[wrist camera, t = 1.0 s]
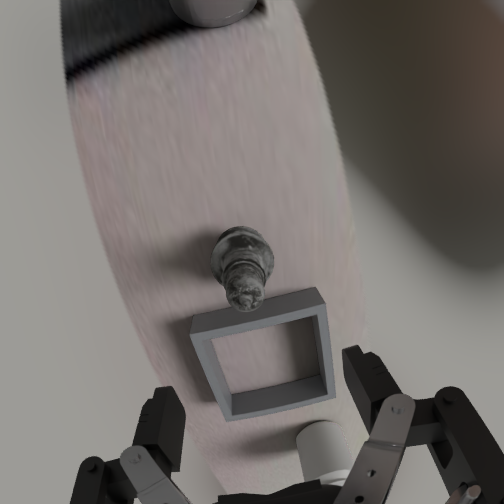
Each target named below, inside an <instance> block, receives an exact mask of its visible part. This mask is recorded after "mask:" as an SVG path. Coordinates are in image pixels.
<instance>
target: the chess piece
mask: <svg viewBox="0 0 504 504" xmlns="http://www.w3.org/2000/svg"><path fill="white" fill-rule="evenodd" d="M273 267H274V256H273V253H272V250H271V248H270V246H269V245H268V243H267V242H266V241H265V240H264V239H263V237H262V236H261V235H260V234H259V233H258V232H257V231H256V230H254V229H252V228H249V227H244V226H240V227H234V228H231V229H229V230H227V231H226V232H224V233H223V234H222V236H221V237H220V238H219V240H218V242H217V245H216V246H215V248H214V250H213V252H212V256H211V270H212V272H213V275H214V277H215V278H216V279H217V281H218V282H219V283H220V284H221V285H223V286H224V288H225V290H226V297H227V300H228V302H229V304H230V305H231V306H232V307H233V308H234V309H236V310H238V311H241V312H251V311H254V310H256V309H257V308H259V307H260V306H261V304H262V303H263V301H264V297H265V290H264V287H265V283H266V281H267V280H268V279H269V277H270V275H271V273H272V271H273Z"/></svg>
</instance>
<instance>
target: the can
mask: <svg viewBox="0 0 504 504" xmlns="http://www.w3.org/2000/svg"><path fill="white" fill-rule="evenodd" d="M296 444H297V449H298V453H299V458H300V462H301V467H302V471H303V476H304V480H305V482H308V481H312V480H316V479H320V482H321V484H333V485H339V486H343V485H344V483H345V481H346V479H347V477H348V475H349V473H350V471H351V469H352V467H353V465H354V463H355V462H354V460H353V457H352V454H351V451H350V449H349V446H348V443H347V441H346V438H345V435H344V433H343V430H342V428H341V426H340V425H339V424H337V423H334V422H328V421H320V422H316V423H313V424H310V425H308V426H307V427H305V428H304V429H303V430H302V431H301V432H300V433H299V434H298V435H297V438H296Z"/></svg>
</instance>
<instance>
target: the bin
mask: <svg viewBox="0 0 504 504" xmlns="http://www.w3.org/2000/svg"><path fill="white" fill-rule="evenodd" d="M309 316H312V322H313V328H314V335H315V341H316V348H317V355H318V362H319V369H320V375H317V376H313V377H310V378H306V379H302V380H298V381H294V382H290V383H286V384H281V385H277V386H272V387H268V388H263V389H258V390H253V391H248V392H243V393H238V394H231V392H230V389H229V387H228V384H227V382H226V379H225V376H224V374H223V371H222V369H221V366H220V363H219V361H218V358H217V355H216V352H215V350H214V347H213V344H212V342H211V339H213V338H218V337H223V336H228V335H232V334H237V333H242V332H246V331H251V330H255V329H260V328H264V327H268V326H273V325H277V324H281V323H285V322H289V321H293V320H297V319H301V318H305V317H309ZM189 335H190V338H191V340H192V343H193V345H194V348H195V351H196V353H197V355H198V358H199V360H200V363H201V365H202V368H203V370H204V372H205V375H206V377H207V380H208V382H209V384H210V387H211V389H212V391H213V393H214V396H215V398H216V400H217V402H218V405H219V407H220V409H221V411H222V413H223V416H224V418H225V420H226V422H229V421H235V420H241V419H247V418H253V417H258V416H263V415H268V414H273V413H277V412H282V411H286V410H291V409H295V408H299V407H303V406H307V405H311V404H315V403H318V402H322V401H326V400H329V399H333V398H336V390H335V380H334V369H333V360H332V351H331V342H330V334H329V326H328V318H327V310H326V303H325V302H324V300H323V298H322V296H321V295H320V293H319V291H318V290H317V288H316V287H314V288H310V289H306V290H302V291H298V292H294V293H290V294H286V295H282V296H278V297H274V298H269V299H265V300H264V301H263V303H262V304H261V306H260V307H259V308H257V309H256V310H254V311H251V312H241V311H238V310H236V309H234V308H233V307H230V308H226V309H221V310H217V311H212V312H207V313H203V314H198V315H193V319H192V324H191V329H190V333H189Z"/></svg>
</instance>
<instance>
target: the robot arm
mask: <svg viewBox="0 0 504 504" xmlns="http://www.w3.org/2000/svg"><path fill="white" fill-rule="evenodd" d="M169 2H170V5H171V7H172V9H173V11H174V13H175V14H176V15H177V16H178V17H179V18H180V19H182V20H183V21H185V22H187V23H189V24H192V25H194V26H200V27H221V26H225V25H229V24H232V23H234V22H237V21H239V20H241V19H242V18H243V17H245V16H246V15H248V14H249V13H250V11H251V10H252V9H253V8H254V6H255V4H256V3H257V0H169ZM342 359H343V371H344V378H345V381H346V384H347V387H348V389H349V391H350V393H351V395H352V398H353V400H354V402H355V404H356V407H357V409H358V411H359V413H360V416H361V418H362V420H363V422H364V425H365V427H366V429H367V431H368V434H369V435H370V437H369V439H368V441H365V442H364V444H363V446H362V448H361V450H360V452H359V454H358V456H357V458H356V461H355V463H354V465H353V467H352V469H351V471H350V473H349V475H348V477H347V479H346V481H345V483H344V485H343V486H339V485H333V484H321V482H320V479H316V480H312V481H308V482H303V483H299V484H294V485H292V486H290V487H287V488H285V489H282V490H280V491H277V492H275V493H272V494H269V495H261V494H247V493H239V494H230V495H220V496H218V502H216V503H213V504H385V503H386V500H387V498H388V496H389V493H390V490H391V488H392V486H393V482H394V480H395V477H396V475H397V472H398V469H399V466H400V464H401V461H402V458H403V455H404V452H405V449H406V447H409V446H416V445H423V444H427V447H428V449H429V451H430V453H431V455H432V457H433V459H434V462H435V464H436V466H437V468H438V470H439V472H440V475H441V477H442V479H443V482H444V484H445V486H446V489H447V490H448V493H449V496H450V498H449V499H448V500H447V502H446V503H445V504H504V454H503V452H502V450H501V449H500V447H499V445H498V444H497V442H496V441H495V439H494V437H493V436H492V434H491V433H490V431H489V429H488V428H487V426H486V425H485V423H484V422H483V420H482V419H481V417H480V416H479V414H478V413H477V411H476V410H475V408H474V407H473V405H472V404H471V402H470V401H469V399H468V398H467V397H466V395H465V394H464V392H463V391H462V390H461V389H459V388H456V387H451V386H450V387H444V388H443V389H440V390H439V391H438V392H437V393H436V395H435V397H434V398H428V399H420V400H415V399H412V398H411V397H410V396H408V395H406V394H403V393H402V392H401V390H400V388H399V387H398V385H397V384H396V382H395V381H394V379H393V377H392V376H391V374H390V373H389V372H388V369H387V368H386V366H384V363H383V362H382V360H381V359H380V357H379V356H377V355H375V354H374V353H372V352H368V353H365V354H363V352H362V350H361V349H360V347H359V346H358V345H355V346H351V347H348V348H345V349H342ZM185 420H186V414H185V410H184V407H183V405H182V403H181V401H180V400H179V398H178V396H177V394H176V392H175V390H174V388H173V387H172V386H166V387H159V388H156V389H155V392H154V396H153V399H148V400H147V401H146V403H145V404H144V405H143V407H142V410H141V414H140V417H139V423H138V425H137V429H136V432H135V436H134V440H133V444H132V446H131V447H129V448H127V449H125V450H124V451H123V453H122V454H121V456H120V458H118V459H115V460H111V461H107V462H104V461H103V460H102V459H101V458H99V457H96V456H92V457H89V458H87V459H85V460H84V461H83V462H82V463H81V465H80V468H79V471H78V474H77V478H76V482H75V485H74V489H73V493H72V497H71V501H70V504H133V503H134V498H137V497H138V499H139V500H140V502H141V503H142V504H192V503H191V502H190V501H189V500H188V498H187V497H186V496H185V495H184V494H183V492H182V491H181V490H180V489H179V488H178V486H177V485H176V484H175V483H174V482H173V480H172V479H171V472H180V463H181V454H182V445H183V437H184V429H185Z"/></svg>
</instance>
